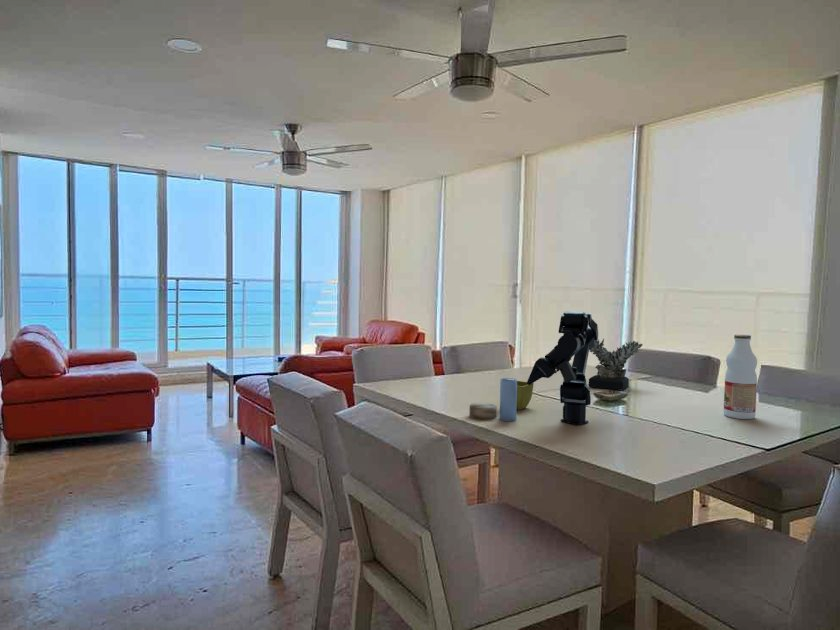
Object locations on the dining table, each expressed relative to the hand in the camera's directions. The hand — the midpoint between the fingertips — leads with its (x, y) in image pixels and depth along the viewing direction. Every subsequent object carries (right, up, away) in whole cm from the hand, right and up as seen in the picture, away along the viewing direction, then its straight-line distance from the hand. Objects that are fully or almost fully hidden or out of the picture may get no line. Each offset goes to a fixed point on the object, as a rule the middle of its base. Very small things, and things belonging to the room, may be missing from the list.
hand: (530, 382), depth 172 cm
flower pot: (0, -12, +21) cm, 25 cm away
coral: (+49, -10, +65) cm, 82 cm away
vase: (-7, -13, +4) cm, 15 cm away
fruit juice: (+74, -13, +12) cm, 76 cm away
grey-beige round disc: (-14, -12, +8) cm, 21 cm away
